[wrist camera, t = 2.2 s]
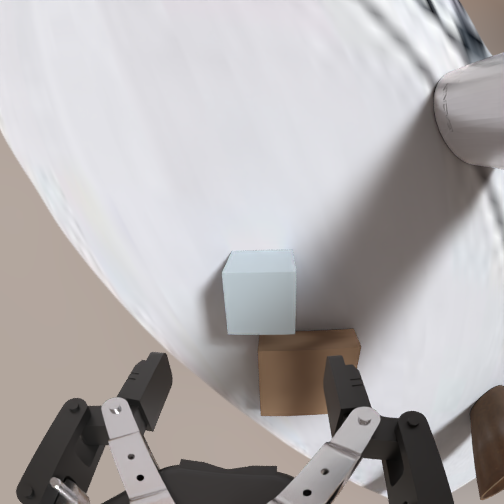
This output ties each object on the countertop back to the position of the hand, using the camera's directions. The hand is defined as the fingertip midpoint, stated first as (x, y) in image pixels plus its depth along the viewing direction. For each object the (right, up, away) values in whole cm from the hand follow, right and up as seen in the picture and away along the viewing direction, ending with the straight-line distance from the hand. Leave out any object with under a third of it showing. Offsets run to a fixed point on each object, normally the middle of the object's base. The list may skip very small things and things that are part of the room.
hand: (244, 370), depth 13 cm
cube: (+1, +4, +11) cm, 12 cm away
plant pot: (+38, -18, +16) cm, 45 cm away
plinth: (+6, -6, +14) cm, 16 cm away
